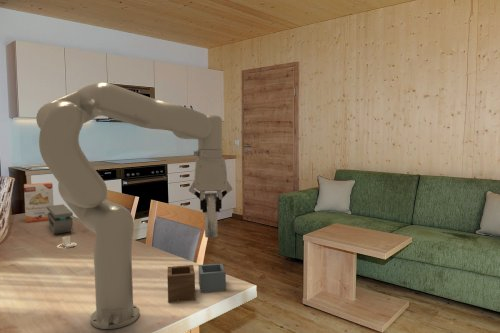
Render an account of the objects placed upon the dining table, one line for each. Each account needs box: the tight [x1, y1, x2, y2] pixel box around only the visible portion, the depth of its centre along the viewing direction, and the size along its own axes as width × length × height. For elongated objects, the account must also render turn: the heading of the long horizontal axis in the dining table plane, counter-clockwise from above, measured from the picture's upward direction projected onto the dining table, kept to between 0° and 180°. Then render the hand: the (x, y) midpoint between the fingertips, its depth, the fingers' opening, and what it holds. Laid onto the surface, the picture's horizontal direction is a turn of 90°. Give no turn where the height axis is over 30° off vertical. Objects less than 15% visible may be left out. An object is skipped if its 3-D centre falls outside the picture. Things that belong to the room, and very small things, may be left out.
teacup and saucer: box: [56, 236, 78, 249], centre depth 168 cm, size 9×8×4 cm
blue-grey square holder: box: [198, 263, 227, 293], centre depth 124 cm, size 8×8×6 cm
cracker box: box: [23, 182, 54, 223], centre depth 213 cm, size 14×6×21 cm, turn 119°
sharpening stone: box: [47, 204, 74, 235], centre depth 192 cm, size 25×8×11 cm, turn 35°
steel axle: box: [204, 191, 218, 239], centre depth 122 cm, size 4×4×14 cm
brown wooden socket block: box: [167, 264, 196, 303], centre depth 117 cm, size 8×8×8 cm
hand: (211, 210), depth 122 cm, fingers closed on steel axle, 4 cm apart
